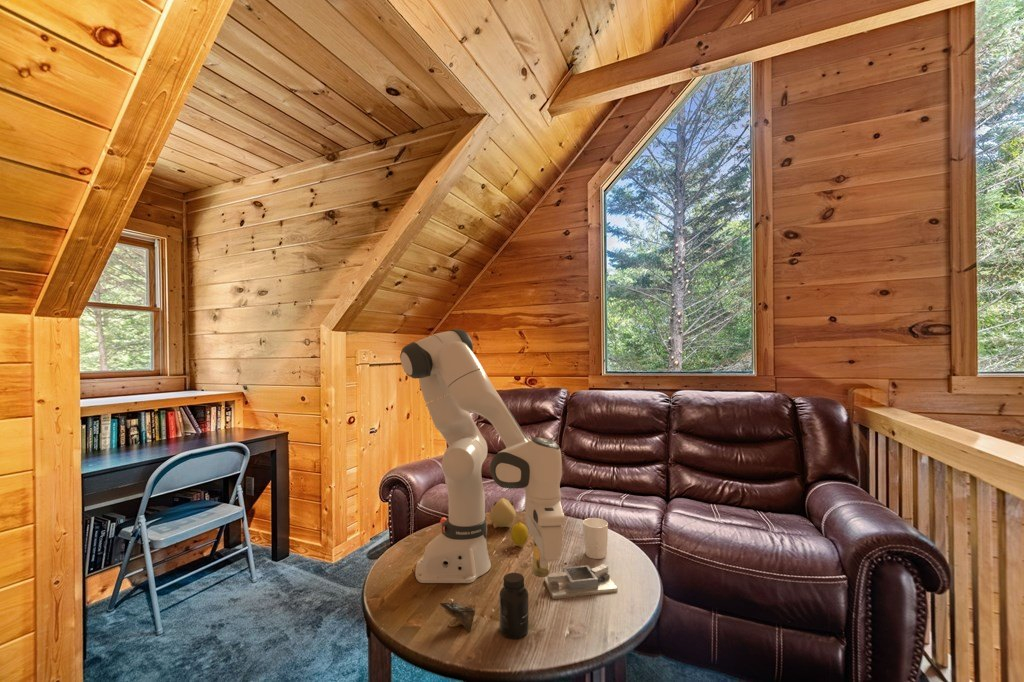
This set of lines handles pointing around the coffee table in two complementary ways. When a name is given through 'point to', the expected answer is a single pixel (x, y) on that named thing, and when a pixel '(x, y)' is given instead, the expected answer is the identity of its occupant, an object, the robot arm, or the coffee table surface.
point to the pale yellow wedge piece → (502, 513)
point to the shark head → (459, 615)
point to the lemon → (519, 534)
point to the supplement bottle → (514, 607)
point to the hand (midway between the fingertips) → (540, 560)
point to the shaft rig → (580, 582)
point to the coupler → (536, 567)
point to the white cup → (595, 537)
